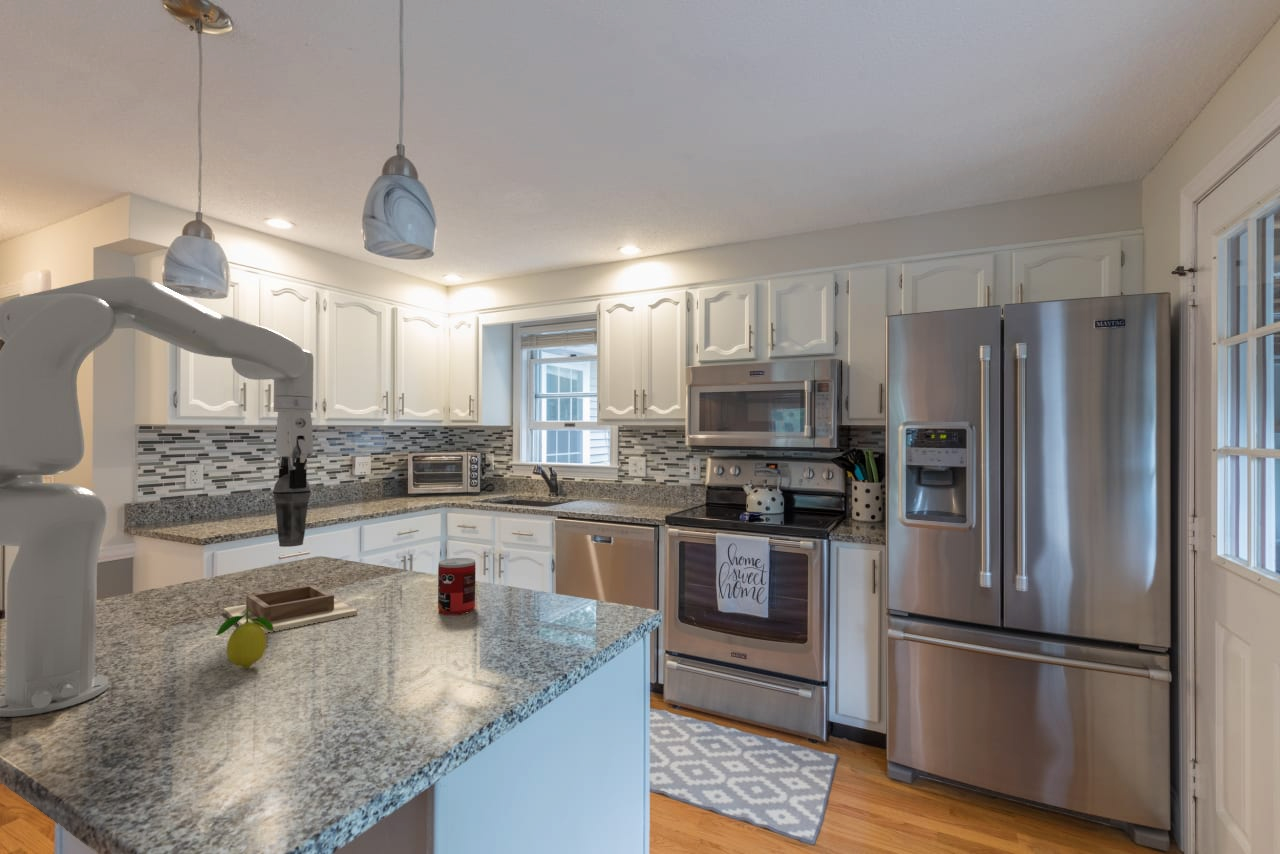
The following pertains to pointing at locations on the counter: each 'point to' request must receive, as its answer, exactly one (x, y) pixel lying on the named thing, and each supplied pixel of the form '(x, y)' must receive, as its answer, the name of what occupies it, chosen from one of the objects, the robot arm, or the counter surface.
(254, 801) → the counter surface
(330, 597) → the cup holder
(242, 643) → the lemon
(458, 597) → the canned food
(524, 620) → the counter surface
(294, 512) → the beverage cup
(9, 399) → the robot arm
